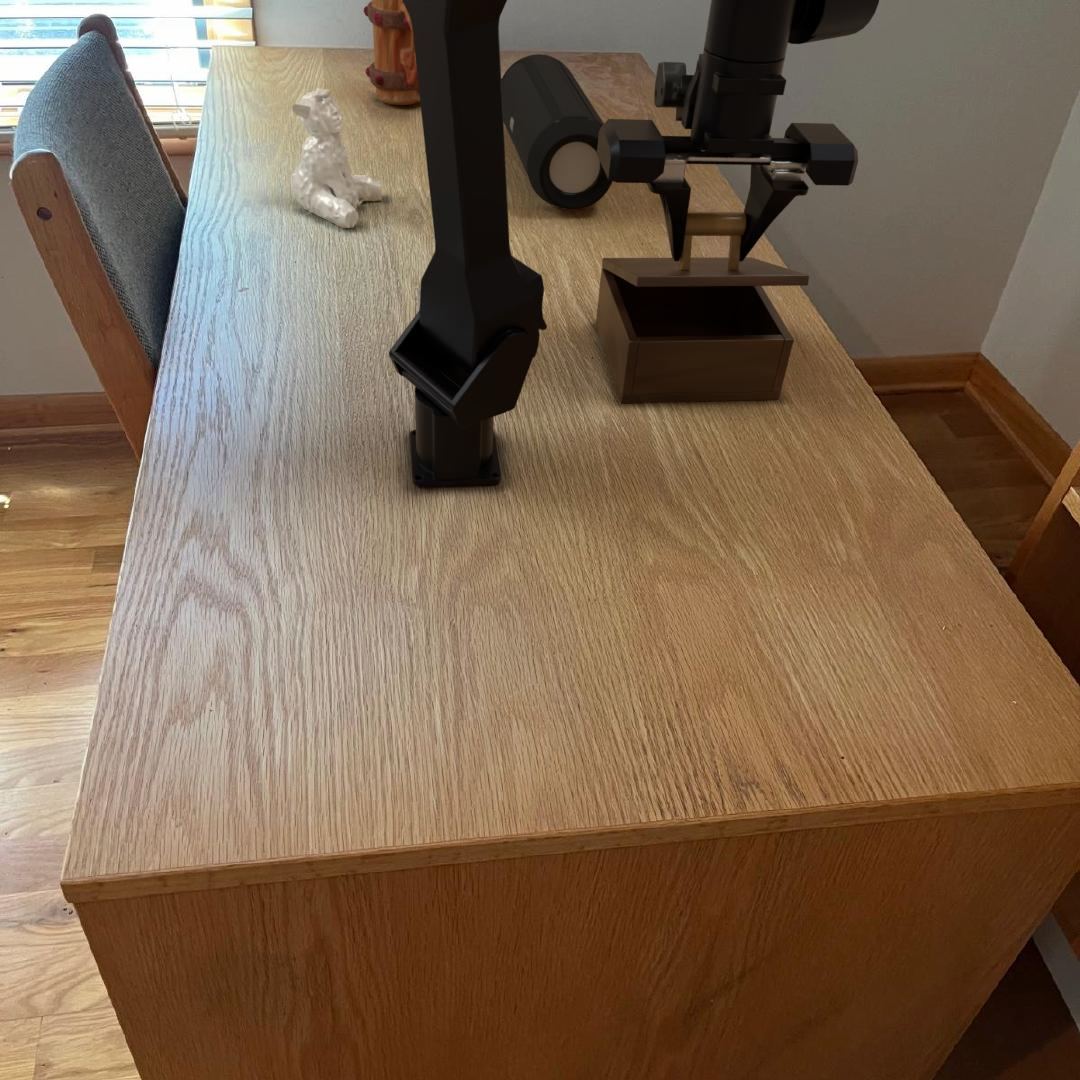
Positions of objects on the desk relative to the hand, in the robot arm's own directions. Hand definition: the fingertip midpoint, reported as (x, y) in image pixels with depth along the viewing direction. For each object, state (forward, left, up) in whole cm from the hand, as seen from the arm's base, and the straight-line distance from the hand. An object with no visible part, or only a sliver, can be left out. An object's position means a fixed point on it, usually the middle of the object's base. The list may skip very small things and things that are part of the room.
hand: (707, 259), depth 82 cm
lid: (+1, 0, -2) cm, 3 cm away
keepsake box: (+1, 0, -10) cm, 11 cm away
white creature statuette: (+33, +31, -11) cm, 47 cm away
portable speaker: (+43, +6, -11) cm, 45 cm away
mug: (+64, +22, -11) cm, 69 cm away
